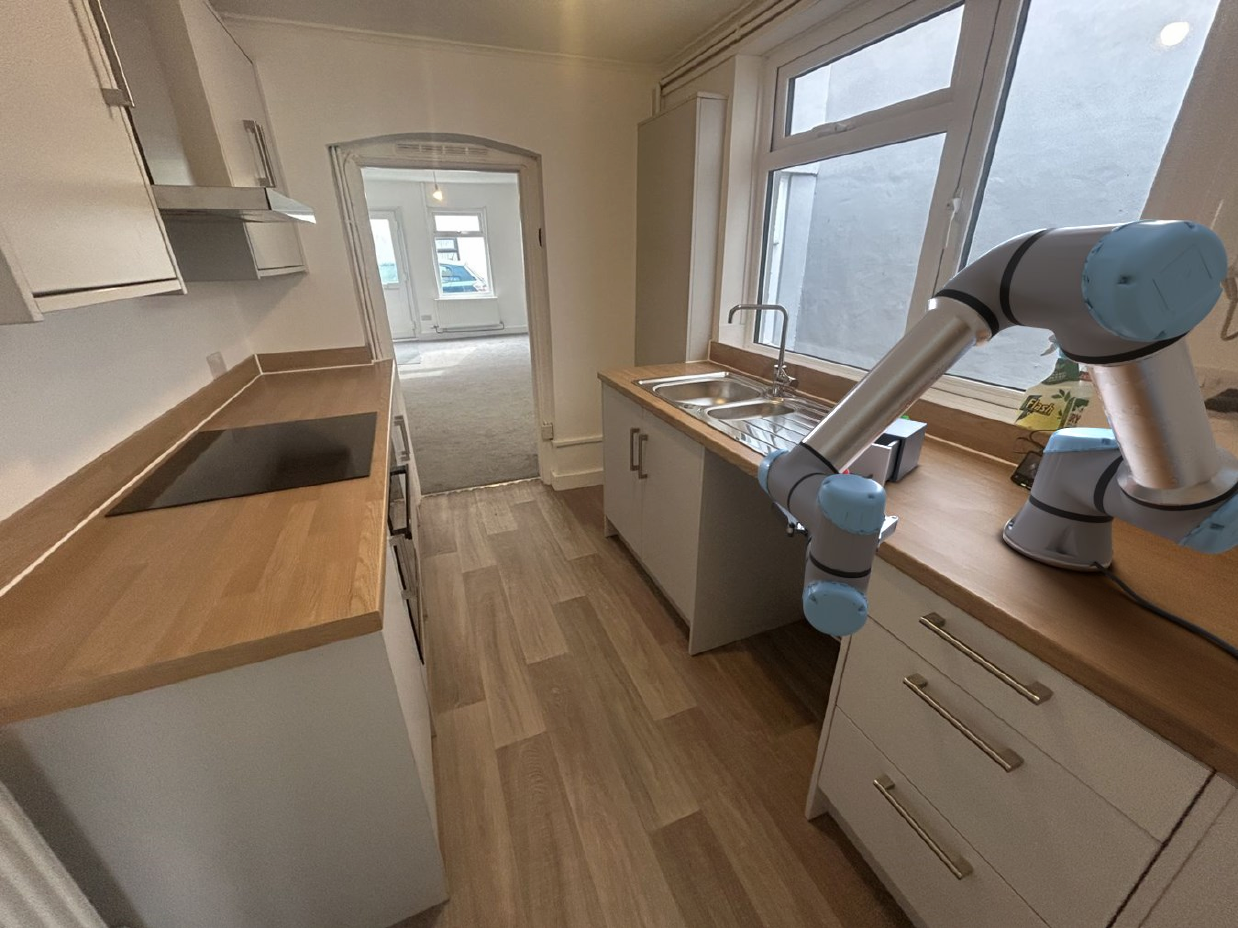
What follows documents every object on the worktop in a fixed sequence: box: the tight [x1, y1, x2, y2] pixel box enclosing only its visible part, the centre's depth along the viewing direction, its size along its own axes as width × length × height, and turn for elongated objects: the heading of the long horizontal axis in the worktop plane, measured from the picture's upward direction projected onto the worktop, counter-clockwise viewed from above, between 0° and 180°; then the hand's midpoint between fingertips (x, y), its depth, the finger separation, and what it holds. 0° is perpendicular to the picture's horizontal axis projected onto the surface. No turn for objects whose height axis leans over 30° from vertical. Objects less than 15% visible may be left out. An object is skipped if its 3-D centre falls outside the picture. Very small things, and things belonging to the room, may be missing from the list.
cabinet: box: [882, 418, 928, 483], centre depth 125 cm, size 16×14×12 cm
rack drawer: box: [848, 435, 902, 488], centre depth 118 cm, size 19×12×10 cm, turn 133°
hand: (830, 495), depth 91 cm, fingers open, 13 cm apart
